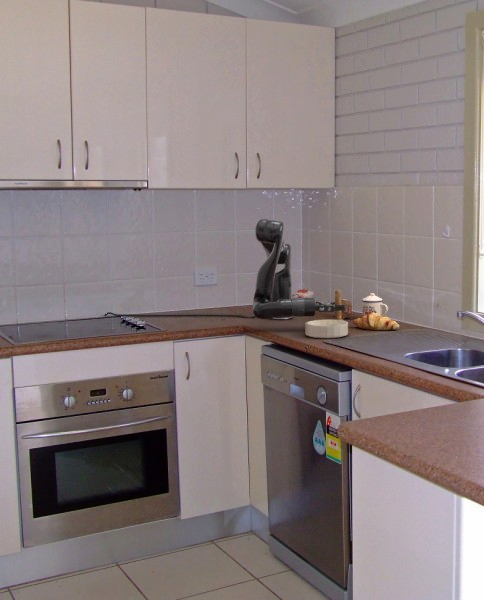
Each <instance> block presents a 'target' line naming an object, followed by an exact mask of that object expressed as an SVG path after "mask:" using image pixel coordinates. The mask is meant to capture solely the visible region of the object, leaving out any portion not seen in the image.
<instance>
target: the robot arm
mask: <svg viewBox="0 0 484 600" xmlns="http://www.w3.org/2000/svg"><path fill="white" fill-rule="evenodd" d="M285 228H286V226H285V223H284V222H283V221H282V220H277V219H271V218H260V219H259V220H258V221H257V222H256V223H255V227H254V235H255V239H256V240H257V242H259V243H260V244H261V246H262V248H263V250H264V252H265V255H266V259H265V260H264V262H263V263H262V264H261V265H260V267H259V268H258V270H257V273H256V278H255V285H254V287H255V288H254V289H255V291H254V295H253V299H252V313H253V316H246V315H242V314H218V313H217V314H214V313H213V314H210V313H209V314H207V313H205V314H203V313H201V314H200V313H199V314H195V313H193V314H191V313H190V314H189V313H188V314H184V313H183V314H121V313H120V314H119V313H113V312H110V311H109V312H106V313H107V314H106V313H105V314H103V316H104V317H106V316H107V315H112V316H114V317H147V318H148V317H151V318H152V317H153V318H154V317H158V318H159V317H228V318H229V317H233V318H243V319H255V318H258V319H261V320H269V319H271V320H275V321H277V320H279V321H280V320H281V321H283V320H291V319H293V317H297V318H302V317H315V316H316V312H319V313H334V311H342V310H344V305H342V304H341V305H335V301H333V302H332V301H329V300H328V301H326V300H325V301H322V300H321V301H316V299H315V297H314V298H294V299H292V295H293V291H292V290H293V287H292V286H293V284H292V257H293V251H292V246H291V244H290V243H286V242H285V239H284V238H285V230H286V229H285ZM278 265H283V267H282V268H281V269H279V270H277V267H278Z"/></svg>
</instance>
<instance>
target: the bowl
mask: <svg viewBox="0 0 484 600" xmlns="http://www.w3.org/2000/svg"><path fill="white" fill-rule="evenodd" d="M304 335H305V336H307V337H310V338H314V339H339V338H343V337H345V336H348V335H349V322H348V321H347V320H344V321H342V320H334V319H314V320H309V321H306V322H305V323H304Z"/></svg>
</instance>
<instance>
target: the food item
mask: <svg viewBox="0 0 484 600" xmlns="http://www.w3.org/2000/svg"><path fill="white" fill-rule="evenodd" d="M294 298H314V299H315V292H314V291H312V290H308V289H306V288H303V289H299V288H297V289H296V293H292V299H294Z"/></svg>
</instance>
